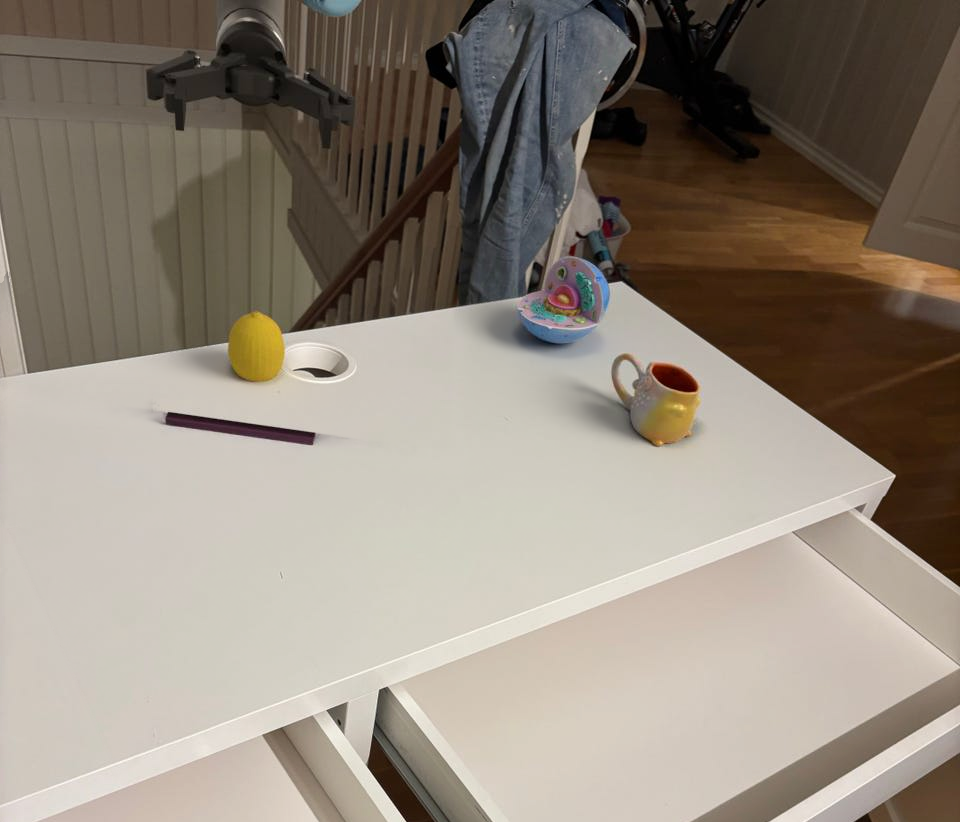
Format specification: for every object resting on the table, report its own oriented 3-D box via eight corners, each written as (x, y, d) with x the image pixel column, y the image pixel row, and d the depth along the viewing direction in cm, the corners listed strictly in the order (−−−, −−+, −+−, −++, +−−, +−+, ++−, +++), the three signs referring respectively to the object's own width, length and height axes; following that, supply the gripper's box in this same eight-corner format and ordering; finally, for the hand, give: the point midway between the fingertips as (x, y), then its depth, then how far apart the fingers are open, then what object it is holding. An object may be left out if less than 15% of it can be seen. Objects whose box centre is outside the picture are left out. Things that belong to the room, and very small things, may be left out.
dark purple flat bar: (165, 424, 93) (165, 417, 92) (177, 397, 97) (176, 390, 96) (312, 445, 95) (313, 438, 94) (318, 418, 98) (319, 411, 98)
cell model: (493, 329, 119) (507, 252, 112) (561, 311, 125) (579, 238, 119) (549, 367, 114) (567, 289, 107) (617, 347, 121) (638, 272, 114)
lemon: (251, 365, 103) (252, 293, 98) (294, 385, 102) (297, 313, 96) (217, 384, 100) (215, 311, 94) (260, 405, 98) (261, 332, 93)
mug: (700, 440, 108) (720, 386, 103) (656, 453, 104) (675, 398, 100) (629, 386, 114) (645, 333, 110) (586, 396, 111) (600, 342, 106)
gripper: (362, 111, 112) (382, 180, 97) (133, 81, 106) (117, 150, 91) (368, 37, 107) (390, 99, 92) (128, 1, 101) (110, 60, 86)
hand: (254, 124), depth 92 cm, fingers open, 13 cm apart
